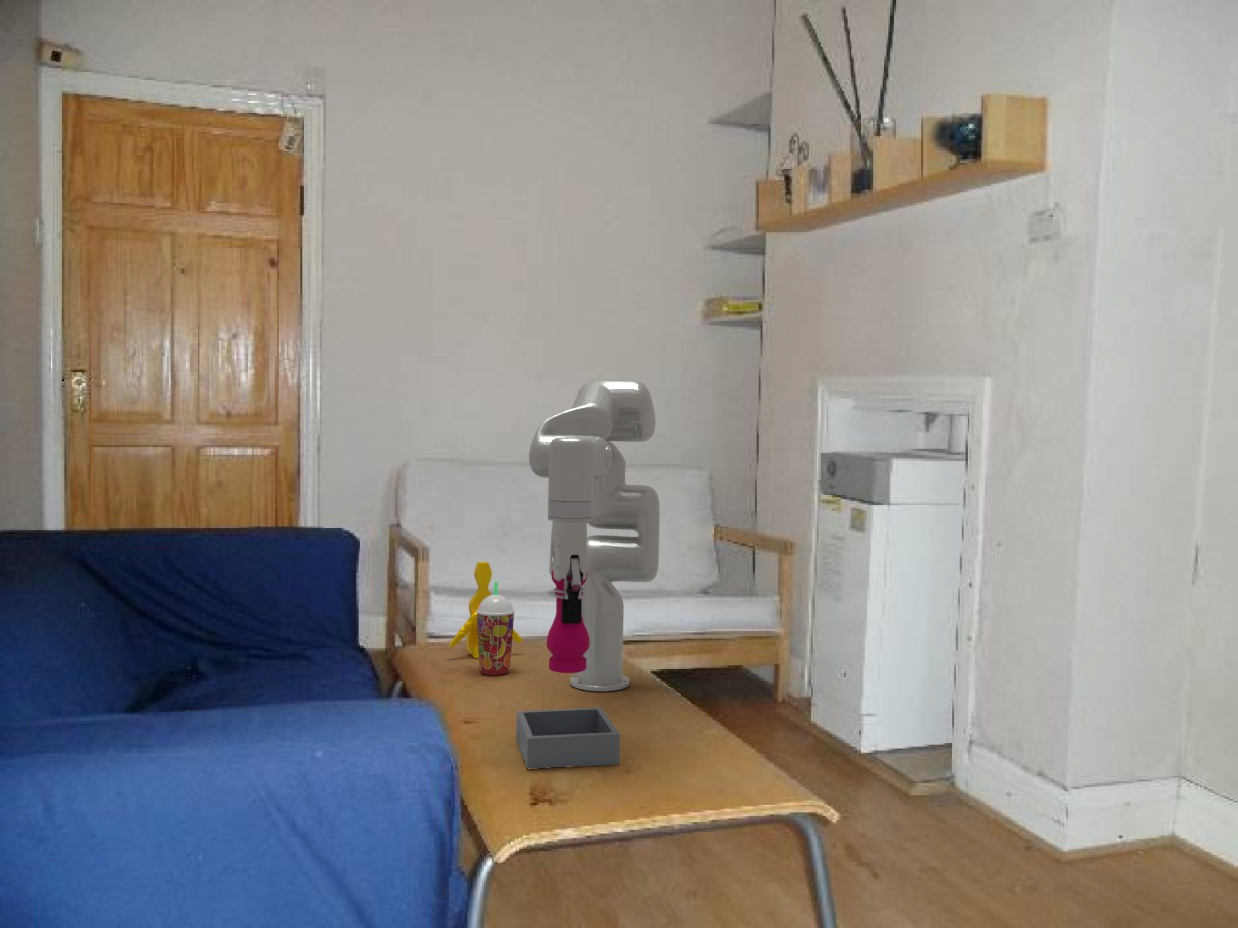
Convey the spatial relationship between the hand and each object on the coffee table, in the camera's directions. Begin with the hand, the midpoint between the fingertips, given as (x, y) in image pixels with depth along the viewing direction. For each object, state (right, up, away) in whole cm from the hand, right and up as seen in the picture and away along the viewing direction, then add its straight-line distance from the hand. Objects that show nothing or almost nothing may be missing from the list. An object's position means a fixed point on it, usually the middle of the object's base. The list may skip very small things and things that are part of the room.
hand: (568, 618), depth 164 cm
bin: (0, -23, +1) cm, 23 cm away
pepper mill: (0, -9, 0) cm, 9 cm away
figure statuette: (-23, -20, +67) cm, 74 cm away
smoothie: (-19, -20, +52) cm, 59 cm away
